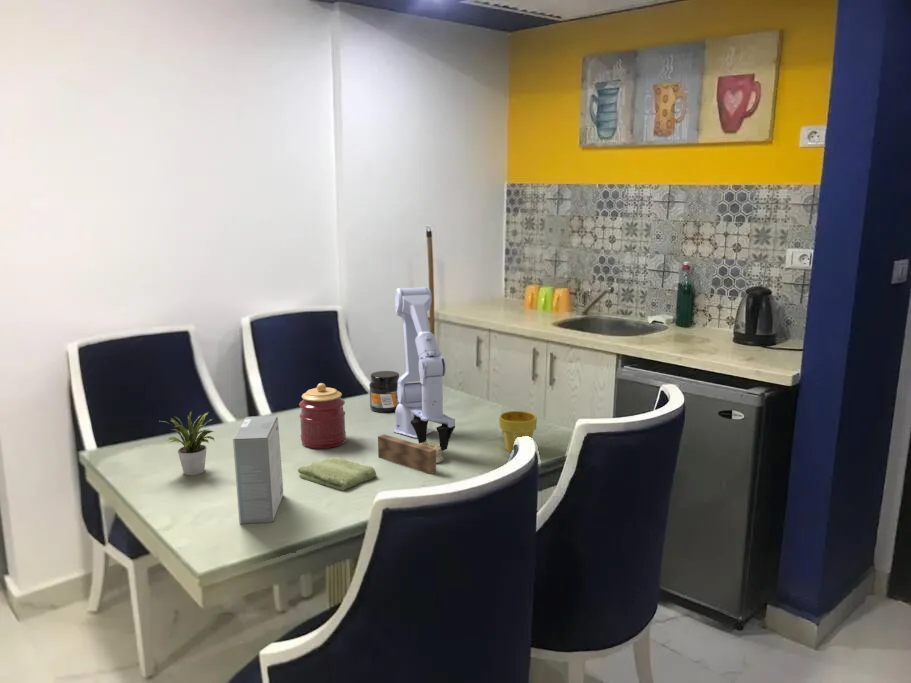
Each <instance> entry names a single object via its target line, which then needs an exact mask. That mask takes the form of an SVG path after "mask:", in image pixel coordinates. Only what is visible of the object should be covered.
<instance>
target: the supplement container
mask: <svg viewBox="0 0 911 683" xmlns="http://www.w3.org/2000/svg"><path fill="white" fill-rule="evenodd" d="M399 378H400V373H399V372H397V371H393V370H379V371H375V372H372V373H370V382H369V384H368V387H369V407H370V410H371V411H373V412H375V413H393V412H395V411H396V407H397V405H398V404H399V401H398V397H397V387H398V379H399Z"/></svg>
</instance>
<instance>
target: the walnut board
mask: <svg viewBox="0 0 911 683" xmlns="http://www.w3.org/2000/svg"><path fill="white" fill-rule="evenodd" d="M377 451H378V453H377V454H378V456H377V457H378V458H379V459H383V460H386V461H389V462H390V463H391V462H392V463H395V464H398V465H401V466H404V467H407V468H410V469H413V470H415V471H420V472H423V473H426V474H429V475H431V474H434V473H435V472H437V463H436V449H433V448H429V447H426V446H422V445H419V444H418V443H415V442H413V441H408V440H405V439H401V438H398V437H394V436H392V435H388V434H386V433H384V434H381V435H378V436H377Z"/></svg>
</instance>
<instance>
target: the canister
mask: <svg viewBox="0 0 911 683" xmlns="http://www.w3.org/2000/svg"><path fill="white" fill-rule="evenodd" d="M342 396H343V394H342V392H340V391H339V390H337V389H336V388H332V387H328V386H326V384H325V383H322V382H320V383H318V384H317V386H316V387H314V388H311V389H308V390H307V391H306V392H304V393H302V395H301V398H302V400H301V401H299V404H298V406H299V408H301V409H300V411H301V412H300V414H299V418H300V432H301V433H300V441H301V444H302V445H303V446H304V447H307V448H310V449H316V450H317V449H321V450H322V449H330V448H336V447H339V446H341V445H343V444H344V443H345V442H346V438H347V432H346V419H345V418H346V417H345V415H346V411H345V410H344V405H345V403H346V401H345V400H344V399H343V398H341V397H342Z"/></svg>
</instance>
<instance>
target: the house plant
mask: <svg viewBox="0 0 911 683" xmlns="http://www.w3.org/2000/svg"><path fill="white" fill-rule="evenodd" d="M192 412H193V410H190V412H189V415H187V423H188V429H187V428H186V427H185V426H184V424H183V422H182V421H181V420H180V418H179V417H177V416H175V418H176V419H177V420H178V421H179V422H177V421H176V420H175V419H173V418H171V419H170V422H172V423H173V424H174V425H175V426H173V428H175V429H172V430H173V431H175V432H176V433H177V434H178V435H179V436H180V438H181V440H180V438H177V437H175V436H170V437H168V438H167V439H166V441H169V443H173V442H176V443H177V444H178V443H181V444H182V445H183V446H181V447H179V448H178V449H177V454H178V457H179V461H180V465H181V467H182V472H183V475H187V476H196V475H200V474H203V472H205V471H206V470H205V469H206V467H205V466H206V458H207V449H208V447H207V446H206V445H205V444H202V443H207V444H210V443H209V439H210V440H212V441H214V442H216V441H215V438H214V436H211V435H209V436H208V434H211V433H215V431H214V430H211V429H210V428H207V429H203V427H205V424H203V423H204V422H205V419H206V416H207V415H208V413H209V411H208V412H206V413H204V414H203V415H202V414H200V415H199V416H198V417H197V418H196V419H195V420H194V422H192V419H191V418H192ZM199 418H200V419H199ZM198 419H199V420H198ZM212 420H213V418H212V419H209V420H208V421H207V423H209V422H211V421H212ZM197 421H198V422H197ZM160 422H163V423H167V424H169V422H168V421H163V420H160ZM196 422H197V423H196ZM179 423H180V424H181V425H180V424H179ZM195 424H196V425H195ZM176 428H177V429H176ZM202 429H203V430H202Z"/></svg>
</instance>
